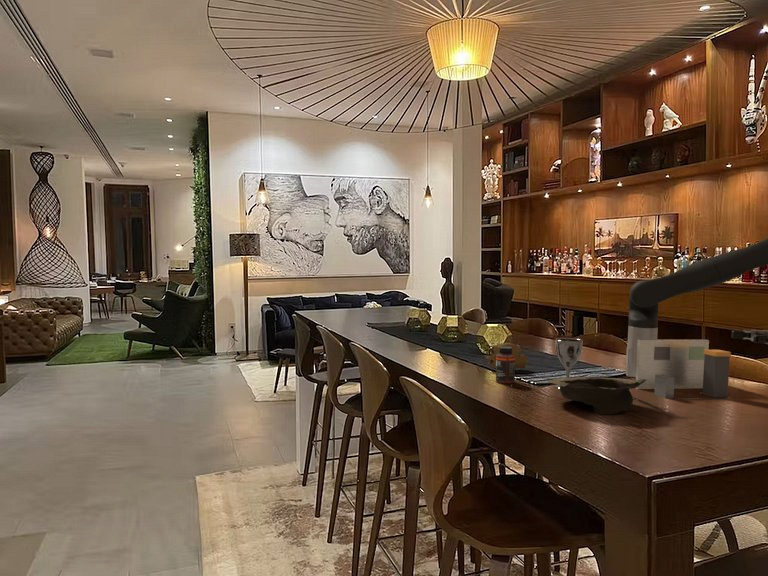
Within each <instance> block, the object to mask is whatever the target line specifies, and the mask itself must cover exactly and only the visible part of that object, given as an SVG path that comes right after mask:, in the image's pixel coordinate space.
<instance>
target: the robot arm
mask: <svg viewBox="0 0 768 576" xmlns="http://www.w3.org/2000/svg"><path fill="white" fill-rule="evenodd" d="M765 266H768V237H767V238H765V239H763V240H761V241H758V242H756V243H754V244H751V245H748V246H745V247H743V248H739V249H735V250H732V251H727V252H724V253H721V254H716V255H713V256H711V257H708V258H704V259H701V260H698V261H696V262H694V263H691V264H689V265H686V266H684V267H682V268H681V269H678V270H677V271H675V272H672V273H669V274H668V275H663V276H659V277H656V278H652V279H647V280H646V279H645V280H644V279H643V280H641V279H640V280H639V281H636V282H635V283H633V285H632V286H631V288H630V290H629V297H628V298H629V300H628V301H629V303H628V329H627V346H626V352H625V353H626V354H625V355H626V358H625V375H626V377H631V378H635V379H636V364H637V342H638V340H658V332H659V331H658V327H659V325H658V324H659V303H662V302H663V301H666V300H668V299H670V298H674V297H677V296H680V295H684V294H688V293H694V292H698V291H702V290H705V289H709V288H712V287H715V286H719V285H720V284H724V283H727V282H729V281H732V280H734V279H736V278H738V277H740V276H742V275H744V274H747V273H748V272H750V271H752V270H755V269H758V268H762V267H765ZM730 336H731V339H742V340H750V341H751V342H753V343H755V344H765V345H768V329H763V330H759V329H739V330H731V334H730Z"/></svg>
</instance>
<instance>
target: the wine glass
mask: <svg viewBox="0 0 768 576" xmlns="http://www.w3.org/2000/svg"><path fill="white" fill-rule="evenodd" d="M554 348H555V353H556V357H557V358H558V360H559V361H560V363H561V364H562V366H563V367H564V370H565V378H570V372H571V369H572V367H573V366H574V365H575V364H576V363H577V362H578V361H579V360H580V358H581V355H582V351H583V339H579V338H572V337H556V338H555V347H554ZM554 386H555V389H558V390H560V385H557V384H556V385H554Z"/></svg>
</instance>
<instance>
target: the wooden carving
mask: <svg viewBox="0 0 768 576" xmlns="http://www.w3.org/2000/svg"><path fill="white" fill-rule="evenodd" d="M499 347H512V354H514V355H515V369H517V368H519V369H525V368H526V366H527V364H528V361H529V360H530V357H529V356H527V355H526V354H523V353H521V352H522V349H521V346H520V345H519V344H517V343H516V344H513V343H511V342H501V343H498V344H496V345H495V344H494V345H492V346H491V354H488V355H487V354H485V355H484V358H485V359H486V360H487V361H488V362H487V364H488V365H489V366H491V368H494V369H495V370H496V355H497V354H498V353H499V352H500V351H499Z"/></svg>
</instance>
